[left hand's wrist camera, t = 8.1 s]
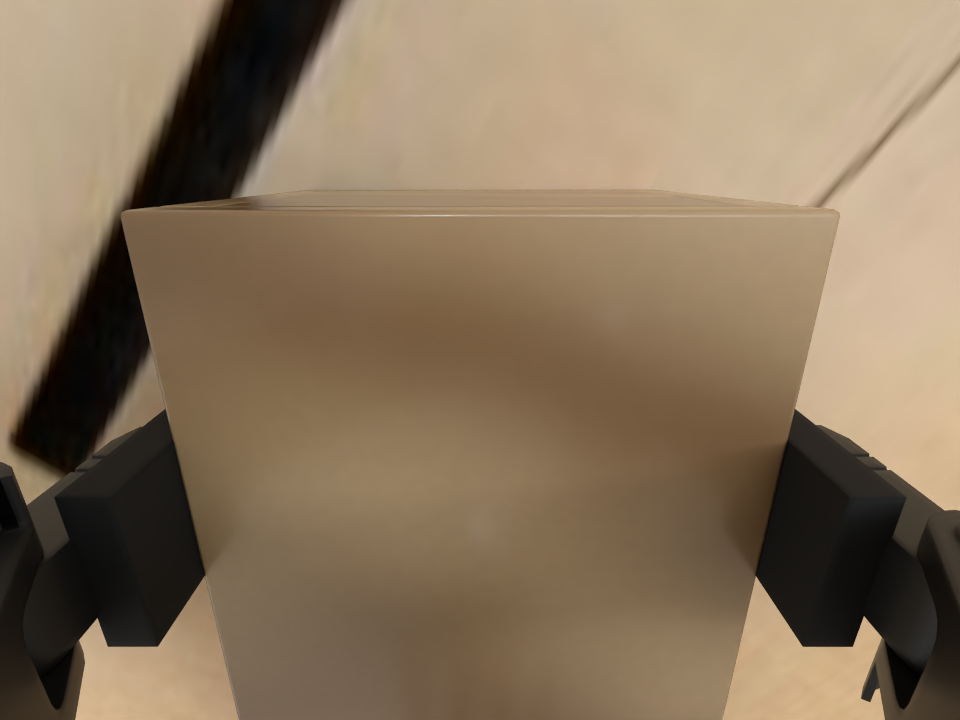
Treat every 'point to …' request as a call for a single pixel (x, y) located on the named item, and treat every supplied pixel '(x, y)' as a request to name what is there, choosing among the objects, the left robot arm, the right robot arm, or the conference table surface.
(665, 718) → the cabinet
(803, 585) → the left robot arm
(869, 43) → the conference table surface
